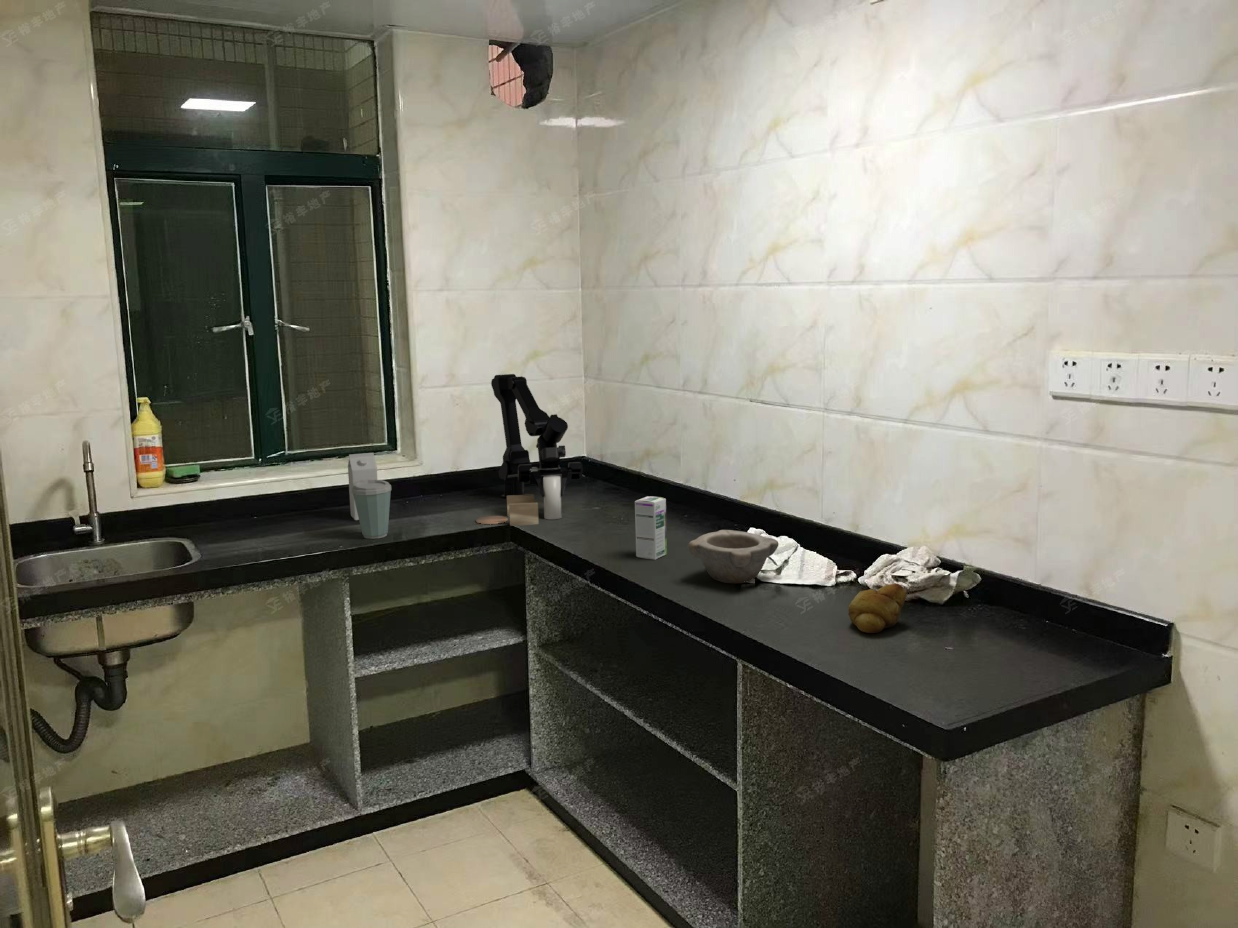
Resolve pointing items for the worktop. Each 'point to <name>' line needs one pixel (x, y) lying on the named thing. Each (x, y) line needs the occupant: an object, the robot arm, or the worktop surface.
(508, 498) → the wall
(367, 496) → the disposable coffee cup
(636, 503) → the syrup box
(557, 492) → the white cylinder
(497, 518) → the pad
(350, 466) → the milk carton
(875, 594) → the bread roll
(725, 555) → the mortar
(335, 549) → the worktop surface
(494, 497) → the worktop surface
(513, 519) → the outer gate wall
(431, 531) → the worktop surface
